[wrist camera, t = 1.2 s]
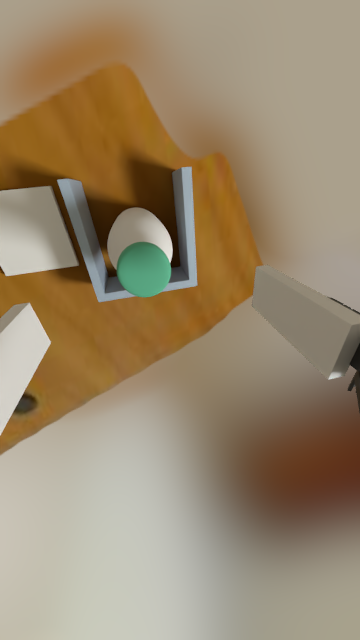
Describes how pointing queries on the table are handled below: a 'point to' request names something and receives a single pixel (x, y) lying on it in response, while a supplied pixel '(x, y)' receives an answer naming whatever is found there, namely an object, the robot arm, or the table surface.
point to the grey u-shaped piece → (90, 246)
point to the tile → (33, 232)
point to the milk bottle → (140, 252)
